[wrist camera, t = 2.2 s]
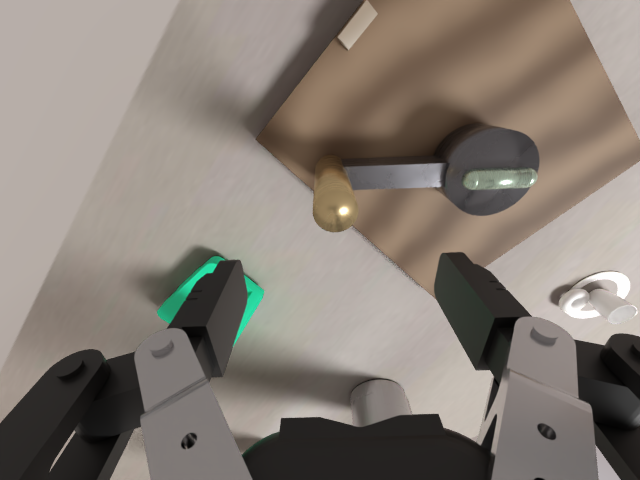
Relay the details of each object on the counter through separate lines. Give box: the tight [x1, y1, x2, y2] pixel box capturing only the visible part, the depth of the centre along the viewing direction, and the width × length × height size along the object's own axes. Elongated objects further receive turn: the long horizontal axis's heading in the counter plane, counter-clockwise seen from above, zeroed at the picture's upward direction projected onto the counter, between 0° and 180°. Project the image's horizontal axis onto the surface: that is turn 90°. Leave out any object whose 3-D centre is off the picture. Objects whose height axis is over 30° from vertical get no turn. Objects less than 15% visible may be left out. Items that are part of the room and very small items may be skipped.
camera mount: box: [157, 256, 264, 346], centre depth 32 cm, size 12×8×10 cm, turn 133°
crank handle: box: [313, 123, 539, 232], centre depth 22 cm, size 18×7×11 cm, turn 92°
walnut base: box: [256, 0, 640, 300], centre depth 26 cm, size 28×24×3 cm
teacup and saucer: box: [559, 271, 638, 324], centre depth 35 cm, size 9×8×4 cm
